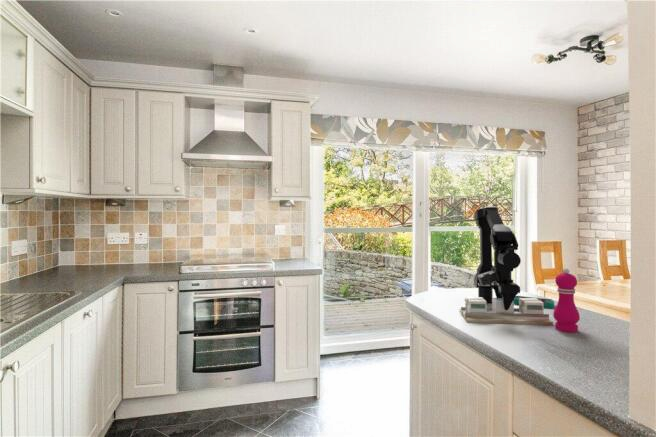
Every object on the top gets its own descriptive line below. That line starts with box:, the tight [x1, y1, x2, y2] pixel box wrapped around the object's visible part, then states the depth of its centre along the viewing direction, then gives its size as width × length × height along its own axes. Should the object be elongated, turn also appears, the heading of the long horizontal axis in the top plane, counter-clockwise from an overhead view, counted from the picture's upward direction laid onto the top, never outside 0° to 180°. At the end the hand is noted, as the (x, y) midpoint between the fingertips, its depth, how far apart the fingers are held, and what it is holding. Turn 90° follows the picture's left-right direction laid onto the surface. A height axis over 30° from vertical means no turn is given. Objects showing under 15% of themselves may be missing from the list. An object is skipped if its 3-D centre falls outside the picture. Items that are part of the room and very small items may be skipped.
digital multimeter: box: [513, 295, 555, 309], centre depth 154 cm, size 7×15×3 cm, turn 56°
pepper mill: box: [553, 268, 581, 333], centre depth 121 cm, size 7×7×20 cm
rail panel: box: [459, 296, 554, 325], centre depth 135 cm, size 14×28×7 cm, turn 81°
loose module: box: [491, 297, 515, 313], centre depth 135 cm, size 5×6×5 cm
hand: (502, 307), depth 135 cm, fingers open, 7 cm apart
